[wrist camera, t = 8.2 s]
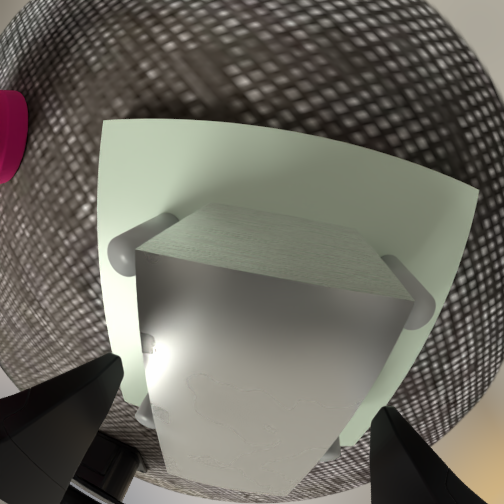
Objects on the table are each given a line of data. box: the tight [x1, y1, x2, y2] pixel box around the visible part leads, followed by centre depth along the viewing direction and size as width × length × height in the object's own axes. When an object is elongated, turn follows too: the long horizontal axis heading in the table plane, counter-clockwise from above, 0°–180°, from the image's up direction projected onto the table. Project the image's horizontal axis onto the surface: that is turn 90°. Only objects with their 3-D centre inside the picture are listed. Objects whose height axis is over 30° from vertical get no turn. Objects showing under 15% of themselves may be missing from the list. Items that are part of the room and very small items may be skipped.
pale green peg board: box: [97, 119, 479, 462], centre depth 10 cm, size 16×15×4 cm
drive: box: [135, 202, 415, 496], centre depth 8 cm, size 10×5×5 cm, turn 172°
